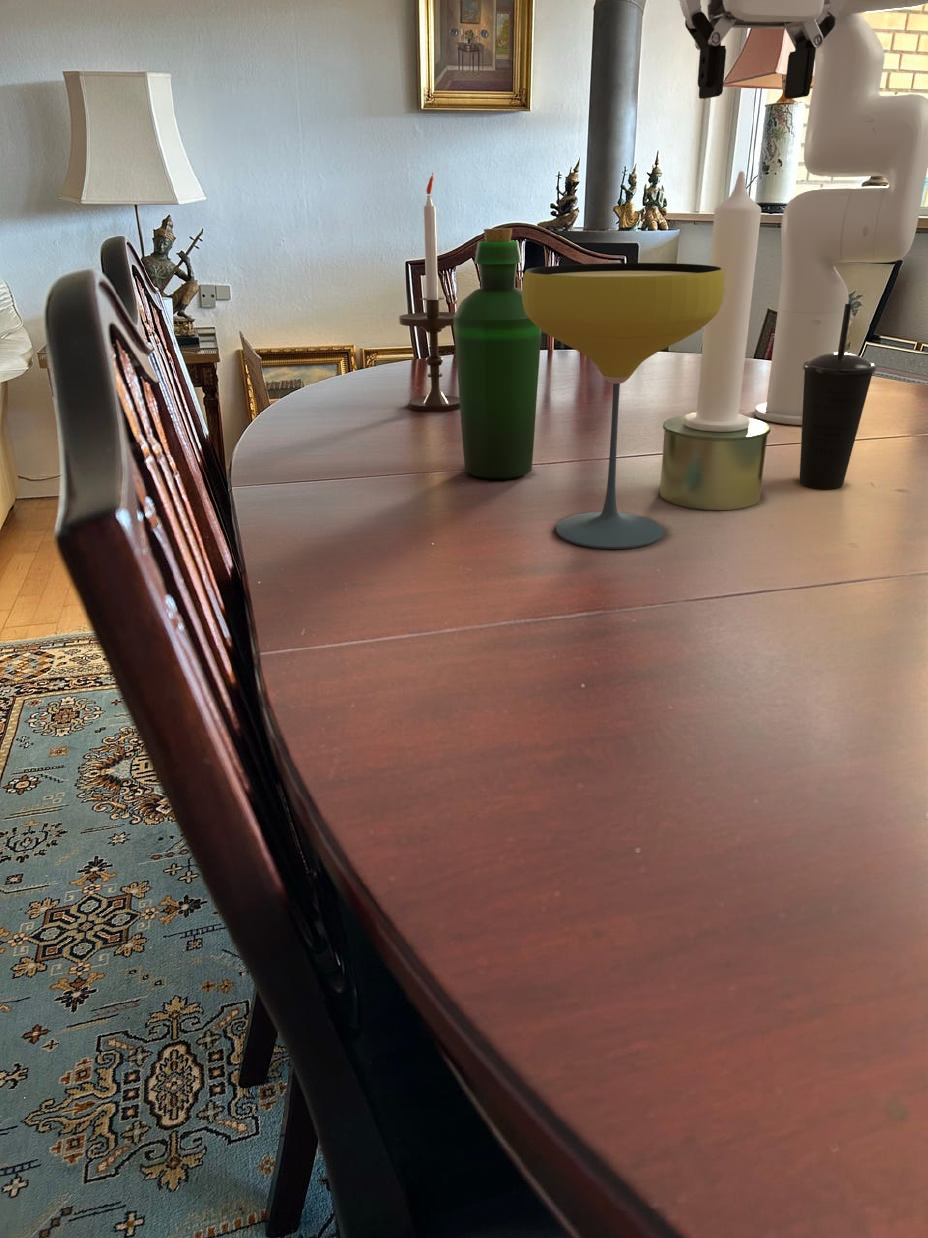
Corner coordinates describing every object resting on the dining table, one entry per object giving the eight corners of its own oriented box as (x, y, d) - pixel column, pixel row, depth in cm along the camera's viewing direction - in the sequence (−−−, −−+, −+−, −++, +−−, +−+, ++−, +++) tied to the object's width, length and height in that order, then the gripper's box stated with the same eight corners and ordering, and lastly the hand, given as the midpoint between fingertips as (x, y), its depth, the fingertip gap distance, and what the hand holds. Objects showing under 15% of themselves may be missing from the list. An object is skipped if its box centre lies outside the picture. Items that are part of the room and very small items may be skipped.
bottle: (550, 464, 115) (555, 226, 103) (528, 486, 106) (531, 229, 94) (471, 458, 118) (468, 227, 106) (444, 480, 109) (436, 230, 97)
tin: (724, 477, 108) (731, 410, 105) (782, 503, 98) (792, 431, 95) (640, 487, 105) (644, 419, 102) (691, 515, 95) (698, 441, 92)
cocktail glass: (661, 576, 80) (685, 278, 69) (488, 543, 89) (485, 274, 78) (723, 519, 94) (750, 263, 83) (567, 495, 102) (574, 261, 92)
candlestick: (471, 399, 154) (467, 172, 139) (465, 412, 144) (460, 170, 129) (408, 399, 155) (398, 174, 140) (398, 412, 145) (386, 172, 130)
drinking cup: (823, 496, 100) (852, 309, 92) (772, 480, 106) (795, 303, 98) (870, 486, 103) (903, 304, 95) (819, 471, 109) (845, 298, 101)
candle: (752, 433, 94) (783, 168, 84) (683, 431, 96) (706, 171, 85) (747, 418, 101) (775, 171, 90) (682, 417, 102) (703, 173, 91)
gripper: (713, -147, 74) (695, 92, 81) (886, -132, 78) (854, 93, 86) (668, -119, 80) (655, 100, 88) (829, -107, 85) (804, 101, 92)
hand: (753, 97), depth 87 cm, fingers open, 9 cm apart
